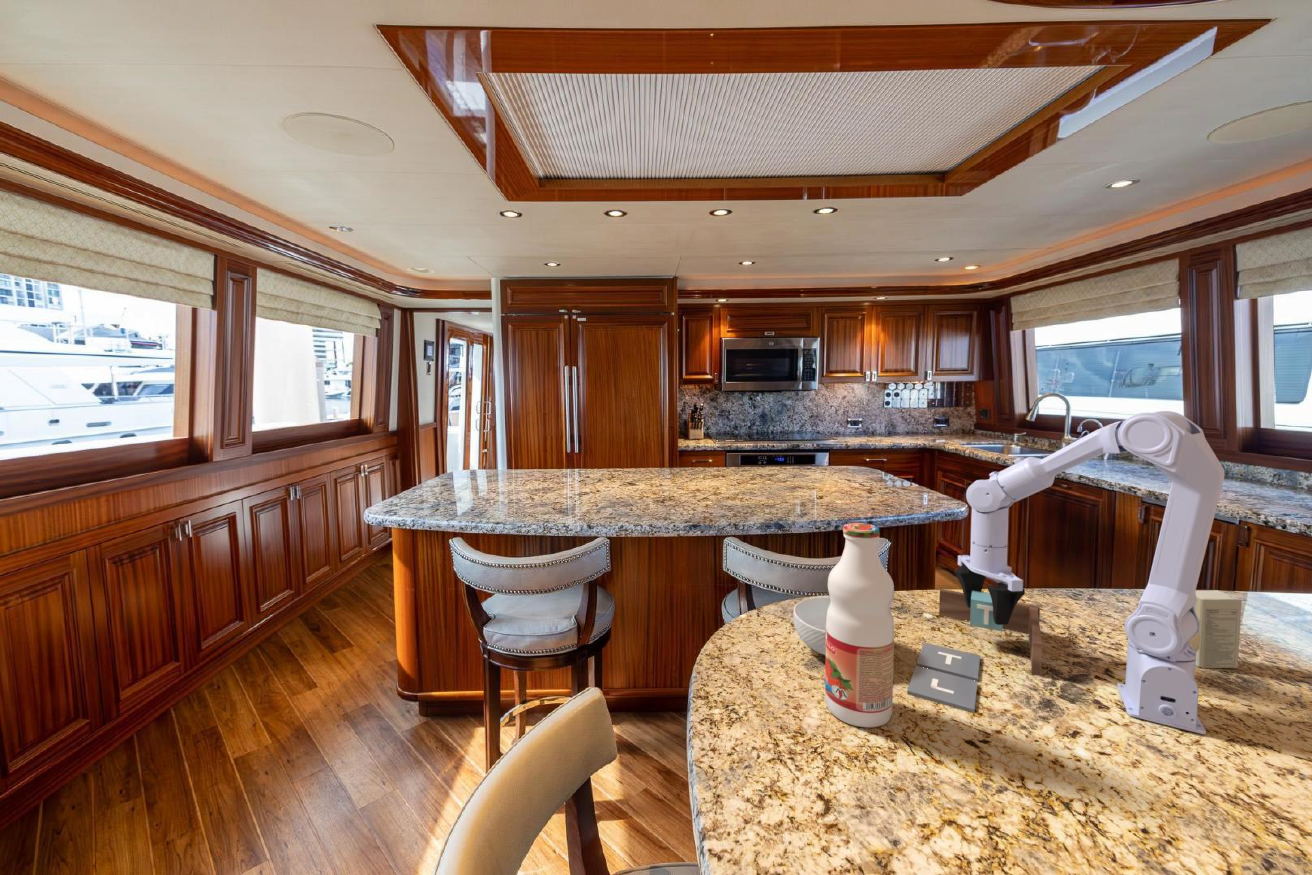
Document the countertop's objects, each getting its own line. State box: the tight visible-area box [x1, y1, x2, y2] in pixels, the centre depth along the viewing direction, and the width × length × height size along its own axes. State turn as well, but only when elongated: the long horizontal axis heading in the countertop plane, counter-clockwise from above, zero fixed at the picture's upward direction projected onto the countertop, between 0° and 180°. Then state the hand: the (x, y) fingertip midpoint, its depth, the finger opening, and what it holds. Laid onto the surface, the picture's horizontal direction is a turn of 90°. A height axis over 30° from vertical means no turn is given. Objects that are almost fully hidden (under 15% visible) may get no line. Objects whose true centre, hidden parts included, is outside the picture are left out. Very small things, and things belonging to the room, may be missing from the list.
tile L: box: [906, 665, 978, 714], centre depth 82 cm, size 9×9×1 cm
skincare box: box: [1189, 589, 1242, 669], centre depth 89 cm, size 6×4×12 cm
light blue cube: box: [969, 590, 1003, 633], centre depth 96 cm, size 5×5×5 cm
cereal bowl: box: [792, 595, 831, 656], centre depth 95 cm, size 17×17×7 cm
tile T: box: [916, 642, 981, 683], centre depth 90 cm, size 9×9×1 cm
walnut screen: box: [938, 588, 1043, 677], centre depth 97 cm, size 19×17×6 cm
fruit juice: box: [824, 522, 895, 729], centre depth 76 cm, size 9×9×28 cm
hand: (986, 614), depth 96 cm, fingers closed on light blue cube, 7 cm apart
